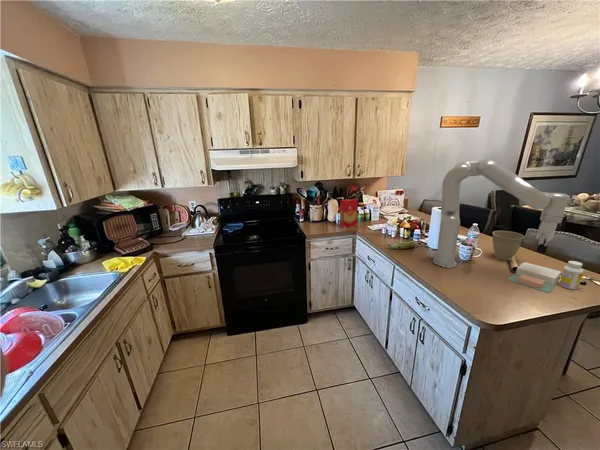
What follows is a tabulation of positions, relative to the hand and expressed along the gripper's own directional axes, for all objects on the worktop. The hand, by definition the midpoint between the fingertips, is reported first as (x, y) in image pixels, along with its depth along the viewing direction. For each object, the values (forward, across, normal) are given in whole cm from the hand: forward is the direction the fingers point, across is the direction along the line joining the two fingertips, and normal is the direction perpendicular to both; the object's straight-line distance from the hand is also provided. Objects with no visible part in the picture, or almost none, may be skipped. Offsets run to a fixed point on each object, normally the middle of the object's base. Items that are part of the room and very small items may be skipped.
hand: (540, 252), depth 127 cm
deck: (+15, -3, +1) cm, 15 cm away
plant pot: (+15, -16, -18) cm, 29 cm away
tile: (+12, +9, +1) cm, 15 cm away
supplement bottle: (+15, -2, +13) cm, 20 cm away
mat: (+15, +8, +1) cm, 17 cm away
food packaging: (+18, +7, -130) cm, 131 cm away
